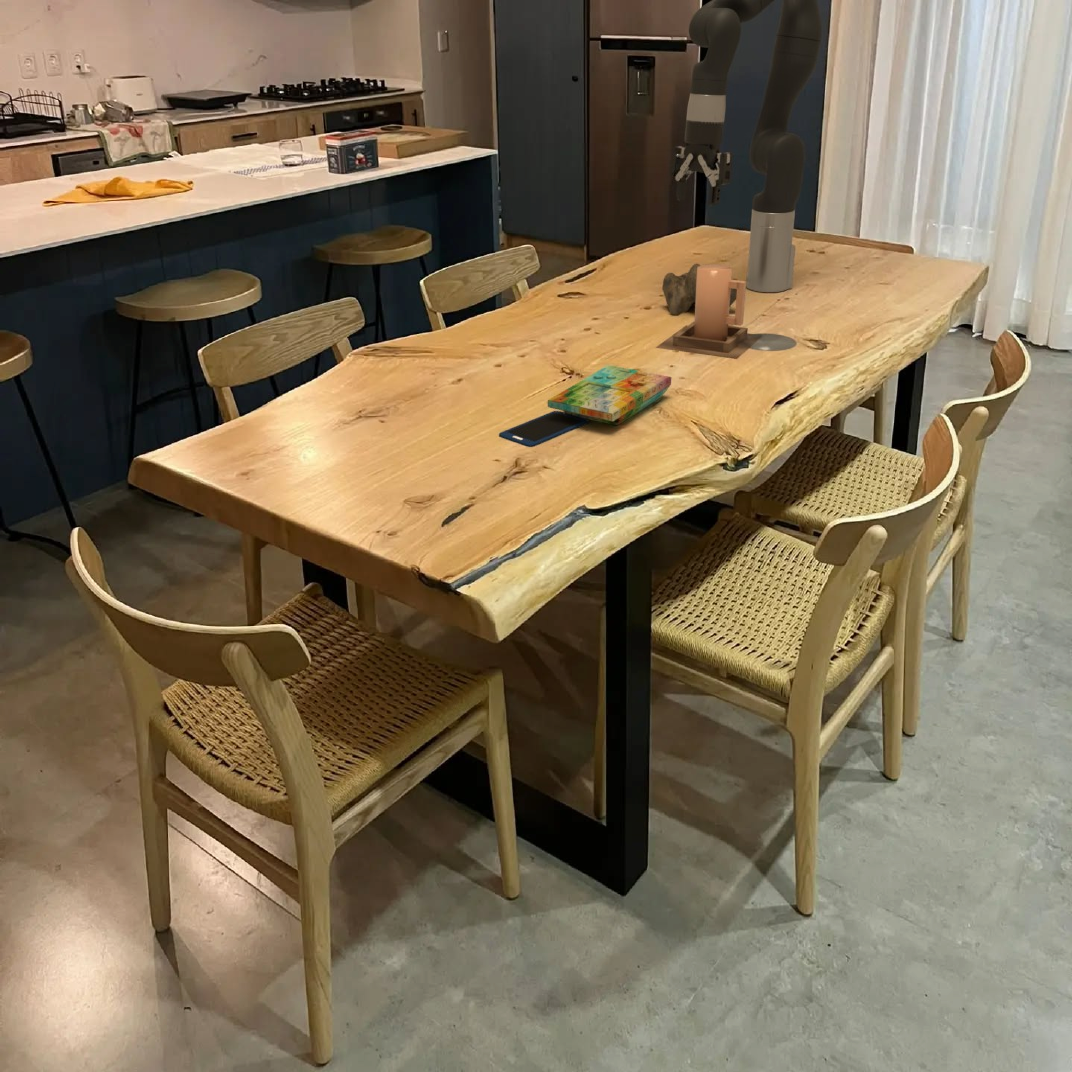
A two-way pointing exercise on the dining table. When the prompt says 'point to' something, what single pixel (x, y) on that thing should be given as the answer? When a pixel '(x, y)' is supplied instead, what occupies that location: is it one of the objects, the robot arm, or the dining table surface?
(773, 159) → the robot arm
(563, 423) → the cell phone
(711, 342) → the holder
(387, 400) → the dining table surface
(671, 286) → the decorative stone
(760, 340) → the grey disc
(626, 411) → the puzzle game
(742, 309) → the peach orange tall mug
